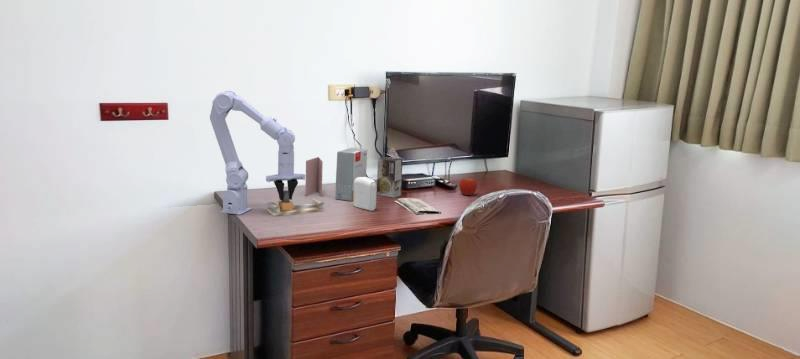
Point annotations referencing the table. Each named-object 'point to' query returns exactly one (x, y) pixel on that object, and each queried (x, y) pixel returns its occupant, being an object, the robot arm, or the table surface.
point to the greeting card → (313, 176)
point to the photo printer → (364, 193)
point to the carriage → (285, 201)
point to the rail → (296, 208)
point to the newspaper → (416, 205)
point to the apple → (468, 186)
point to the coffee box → (389, 177)
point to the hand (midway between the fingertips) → (285, 199)
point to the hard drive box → (349, 171)
